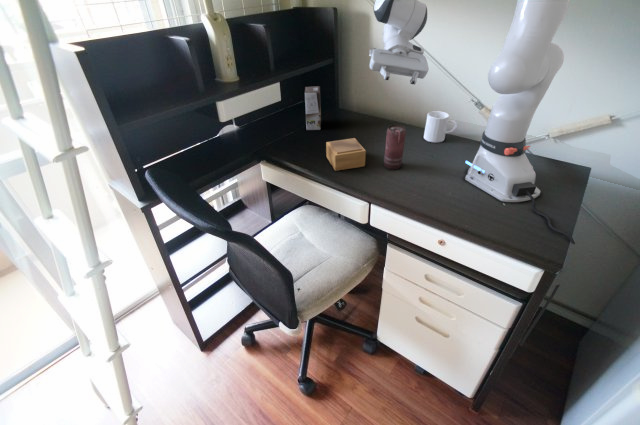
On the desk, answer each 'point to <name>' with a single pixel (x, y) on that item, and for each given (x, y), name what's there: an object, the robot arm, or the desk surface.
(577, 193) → the desk surface
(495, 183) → the robot arm
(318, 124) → the coffee box
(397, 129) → the can
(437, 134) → the mug
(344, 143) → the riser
